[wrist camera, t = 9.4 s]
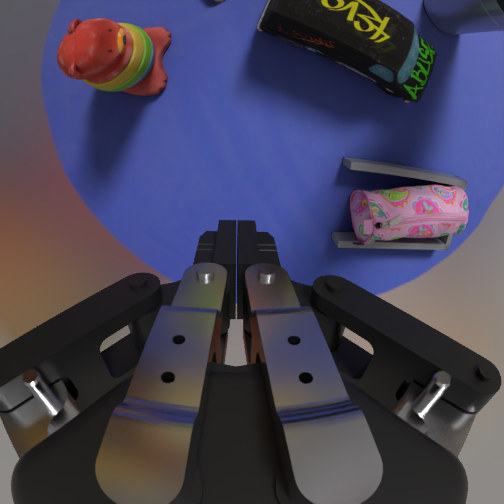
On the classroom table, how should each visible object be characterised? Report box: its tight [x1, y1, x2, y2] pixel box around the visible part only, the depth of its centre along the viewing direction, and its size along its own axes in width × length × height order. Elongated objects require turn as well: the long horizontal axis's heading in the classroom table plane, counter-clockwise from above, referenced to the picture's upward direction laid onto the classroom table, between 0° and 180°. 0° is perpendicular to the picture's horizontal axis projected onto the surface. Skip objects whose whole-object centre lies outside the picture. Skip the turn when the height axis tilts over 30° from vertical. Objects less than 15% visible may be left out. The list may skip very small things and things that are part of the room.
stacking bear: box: [57, 18, 171, 96], centre depth 25 cm, size 11×10×18 cm
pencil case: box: [350, 185, 469, 245], centre depth 41 cm, size 21×9×9 cm, turn 95°
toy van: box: [257, 0, 436, 103], centre depth 27 cm, size 11×25×10 cm, turn 70°
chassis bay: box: [332, 157, 467, 250], centre depth 43 cm, size 14×24×4 cm, turn 88°
